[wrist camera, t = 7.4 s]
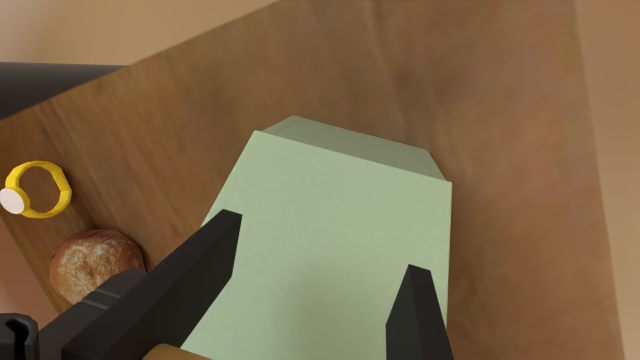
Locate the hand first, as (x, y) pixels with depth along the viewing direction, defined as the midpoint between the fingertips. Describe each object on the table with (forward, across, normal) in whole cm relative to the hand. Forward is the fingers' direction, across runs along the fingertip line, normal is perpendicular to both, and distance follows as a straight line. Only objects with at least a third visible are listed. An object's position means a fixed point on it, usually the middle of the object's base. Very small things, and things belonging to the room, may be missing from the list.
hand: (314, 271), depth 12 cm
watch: (+21, -31, -12) cm, 39 cm away
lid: (+4, 0, -3) cm, 5 cm away
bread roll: (+21, -25, -21) cm, 39 cm away
